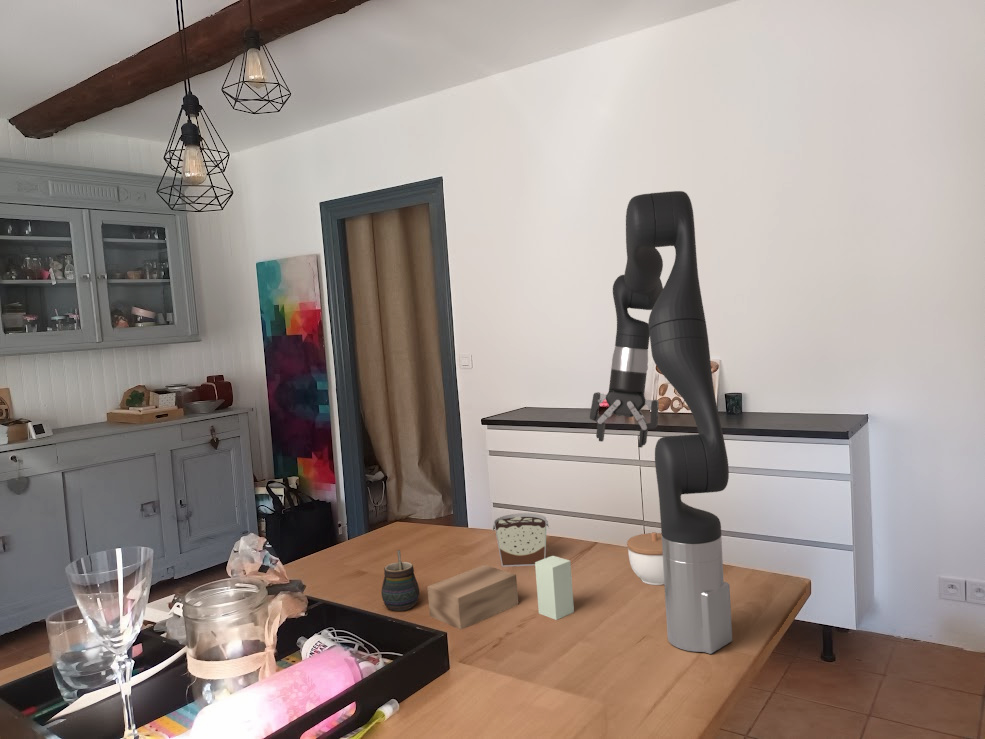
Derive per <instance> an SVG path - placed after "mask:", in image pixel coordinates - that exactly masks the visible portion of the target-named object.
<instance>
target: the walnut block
mask: <svg viewBox="0 0 985 739" xmlns="http://www.w3.org/2000/svg"><path fill="white" fill-rule="evenodd" d="M517 580H518V579H517V574H516V573H512V572H509V571H505V570H502V569H500V568H496V567H493V566H490V565H486V564H482V565H480V566H477V567H475V568H473V569H469V570H467V571H464V572H462V573H459V574H456V575H453V576H451V577H449V578H446V579H443V580H440V581H438V582H435V583H432V584H430V585H427V587H426V588H427V598H428V608H429V609H428V610H429V611H428V612H429V617H430V618H432V619H435V620H438V621H439V622H442V623H444V624H447V625H449V626H450V627H453V628H456V629H458V630H459V631H460V630H463V629H466V628H468V627H470V626H473V625H475V624H477V623H479V622H482V621H484V620H487V619H489V618H491V617H494V616H495V615H498V614H500V613H502V612H504V611H506V610H509V609H512V608H513V607H515V606H518V605H519V596H518V582H517Z"/></svg>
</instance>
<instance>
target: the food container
mask: <svg viewBox="0 0 985 739" xmlns="http://www.w3.org/2000/svg"><path fill="white" fill-rule="evenodd" d="M547 528H548V529H550V525H549V521H548V520H547V517H546V516H545V515H542V514H539V513H531V512H521V513H520V512H519V513H510V514H507V515H506V514H505V515H503V516H499V517H498V518H496V519H495V520H494V521H493V524H492V529H491V531H492V532H494V531H495V537H496V542H497V547H498V553H499V559H500V563H501V567H526V566H527V567H530V566H532V567H533V566H535V562H537V561H540V560H543V559H545V558H546V553H547V552H546V548H547Z"/></svg>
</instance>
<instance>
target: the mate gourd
mask: <svg viewBox="0 0 985 739" xmlns="http://www.w3.org/2000/svg"><path fill="white" fill-rule="evenodd" d="M396 554H397V562H392V563H388V564H386V565H385V566H384V567H383V571H384V572H383V574H384V576H383V581H382V585H381V591H380V592H381V593H380V594H381V598H382V601H383V603H384V605H385V606H386V608H388V610H391V611H394V612H403V611H408V610H410V609H411V608H413V607H414V606H415V605H416V604H417V602H418V601H419V599H420V593H421V592H420V587H419V584H418V581H417V577H416V575H415V570H414V565H413V564H412V563H411V562H408V561H402V558H401V557H402V555H401V549H396Z"/></svg>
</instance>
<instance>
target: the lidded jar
mask: <svg viewBox="0 0 985 739" xmlns="http://www.w3.org/2000/svg"><path fill="white" fill-rule="evenodd" d="M626 545H627V547H626V548H627V553H628V559H629V563H630V568H631V569H632V571H633V572H634V574H635V575H636V576H637V577H638V578H639V579H640V580H641V582H642V583H644V584H646V585H651V586H662V585H664V568H663V550H662V534H661V532H659V533H658V532H656V531H655V532H649V533H647V532H646V533H640V534H637V535H634V536H631V537H630V538H629V539H628V540H627V541H626Z"/></svg>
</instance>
